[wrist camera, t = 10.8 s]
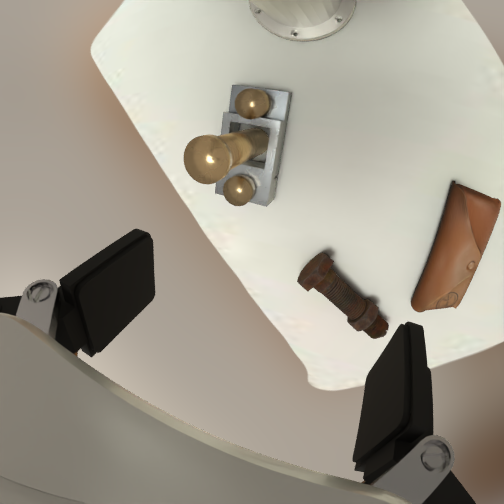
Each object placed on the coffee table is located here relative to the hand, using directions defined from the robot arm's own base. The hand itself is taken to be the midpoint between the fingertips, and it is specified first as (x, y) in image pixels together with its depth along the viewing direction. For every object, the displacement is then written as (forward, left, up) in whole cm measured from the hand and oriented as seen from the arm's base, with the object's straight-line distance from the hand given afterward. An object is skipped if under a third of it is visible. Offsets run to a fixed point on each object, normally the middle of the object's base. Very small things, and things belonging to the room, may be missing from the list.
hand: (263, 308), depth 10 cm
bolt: (+18, +6, -29) cm, 34 cm away
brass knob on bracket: (0, -11, -28) cm, 30 cm away
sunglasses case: (+6, +19, -29) cm, 35 cm away
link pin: (0, -11, -28) cm, 30 cm away
